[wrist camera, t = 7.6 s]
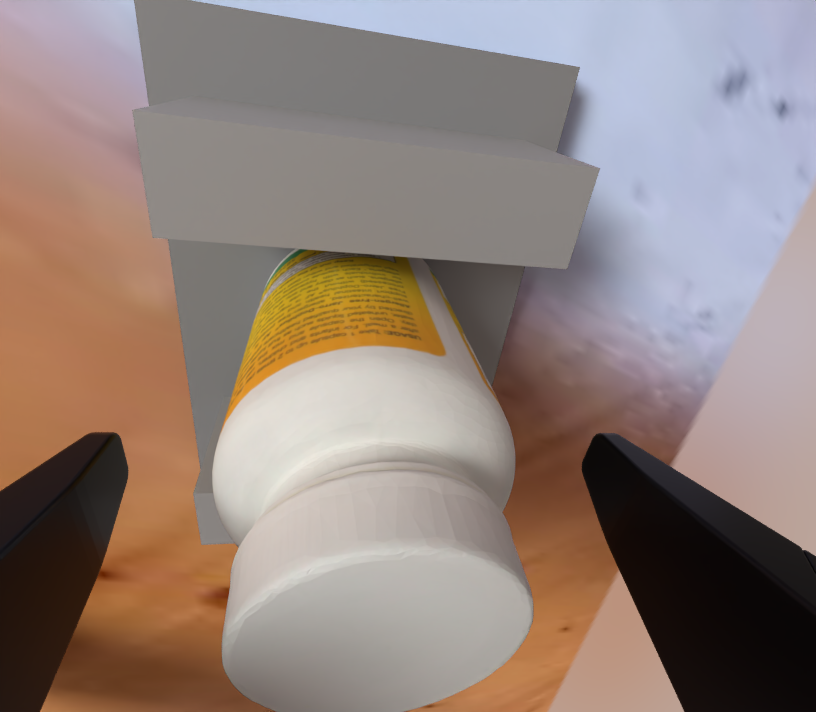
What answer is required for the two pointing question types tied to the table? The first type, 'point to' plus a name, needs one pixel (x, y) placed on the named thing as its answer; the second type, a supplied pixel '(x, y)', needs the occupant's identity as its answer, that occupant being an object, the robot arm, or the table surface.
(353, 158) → the holder
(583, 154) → the table surface
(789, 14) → the table surface
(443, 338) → the supplement bottle
